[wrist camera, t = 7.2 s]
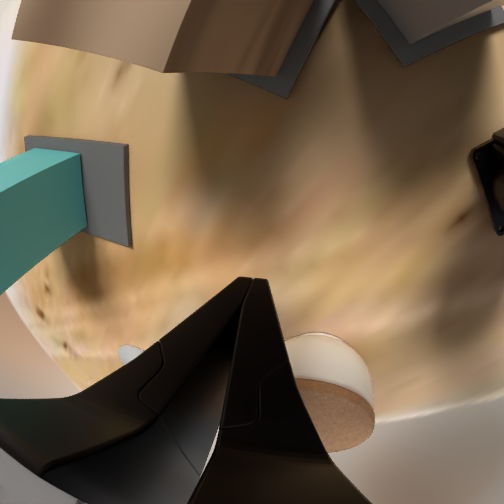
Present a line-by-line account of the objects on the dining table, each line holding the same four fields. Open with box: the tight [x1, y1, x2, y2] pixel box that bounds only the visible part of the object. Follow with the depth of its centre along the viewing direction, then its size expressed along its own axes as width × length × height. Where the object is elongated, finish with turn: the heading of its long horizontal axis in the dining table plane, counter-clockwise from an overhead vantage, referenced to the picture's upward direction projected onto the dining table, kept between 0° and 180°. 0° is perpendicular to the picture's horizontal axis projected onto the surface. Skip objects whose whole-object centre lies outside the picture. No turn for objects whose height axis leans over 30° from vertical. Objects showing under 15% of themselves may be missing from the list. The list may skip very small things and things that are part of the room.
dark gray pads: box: [24, 0, 504, 247], centre depth 17 cm, size 18×44×1 cm, turn 127°
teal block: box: [0, 148, 87, 295], centre depth 20 cm, size 7×7×12 cm
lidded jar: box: [285, 332, 375, 453], centre depth 23 cm, size 11×11×9 cm
